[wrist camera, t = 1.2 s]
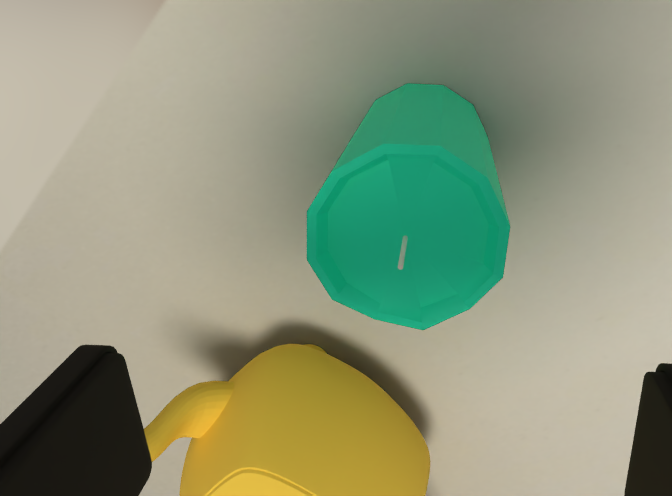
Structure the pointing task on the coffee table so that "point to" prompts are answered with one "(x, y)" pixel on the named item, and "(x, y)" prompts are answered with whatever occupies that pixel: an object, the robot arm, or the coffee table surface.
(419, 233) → the candle
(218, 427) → the teapot
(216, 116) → the coffee table surface
